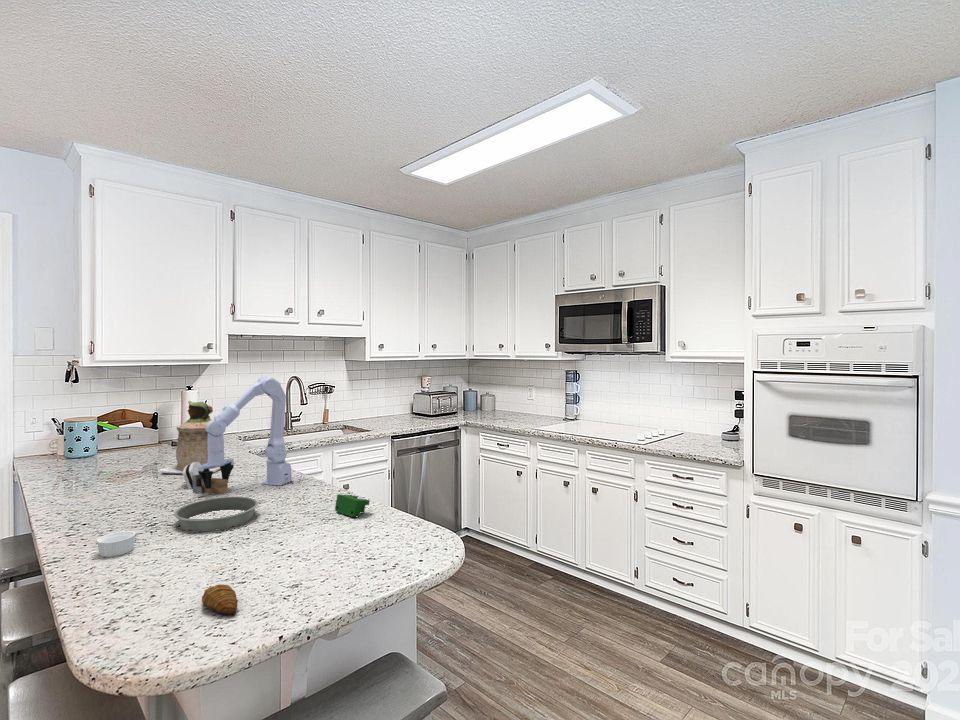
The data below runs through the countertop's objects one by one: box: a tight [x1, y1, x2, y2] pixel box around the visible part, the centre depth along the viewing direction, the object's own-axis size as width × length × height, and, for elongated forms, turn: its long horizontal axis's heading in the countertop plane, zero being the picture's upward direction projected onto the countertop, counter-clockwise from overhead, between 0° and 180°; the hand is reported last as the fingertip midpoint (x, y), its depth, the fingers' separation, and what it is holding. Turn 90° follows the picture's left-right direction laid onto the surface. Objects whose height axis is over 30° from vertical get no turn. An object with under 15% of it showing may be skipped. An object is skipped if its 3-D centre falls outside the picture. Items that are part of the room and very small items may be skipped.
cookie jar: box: [158, 400, 237, 475], centre depth 245 cm, size 25×25×32 cm
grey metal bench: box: [192, 474, 213, 495], centre depth 207 cm, size 5×7×6 cm
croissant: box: [201, 583, 239, 616], centre depth 114 cm, size 14×7×5 cm, turn 48°
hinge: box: [182, 462, 201, 490], centre depth 218 cm, size 17×5×10 cm, turn 17°
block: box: [201, 477, 229, 495], centre depth 205 cm, size 10×4×5 cm, turn 66°
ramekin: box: [96, 530, 136, 558], centre depth 146 cm, size 9×9×4 cm
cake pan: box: [173, 496, 259, 532], centre depth 172 cm, size 25×25×4 cm
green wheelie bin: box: [334, 494, 370, 518], centre depth 178 cm, size 12×6×9 cm, turn 43°
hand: (216, 485), depth 205 cm, fingers open, 7 cm apart
